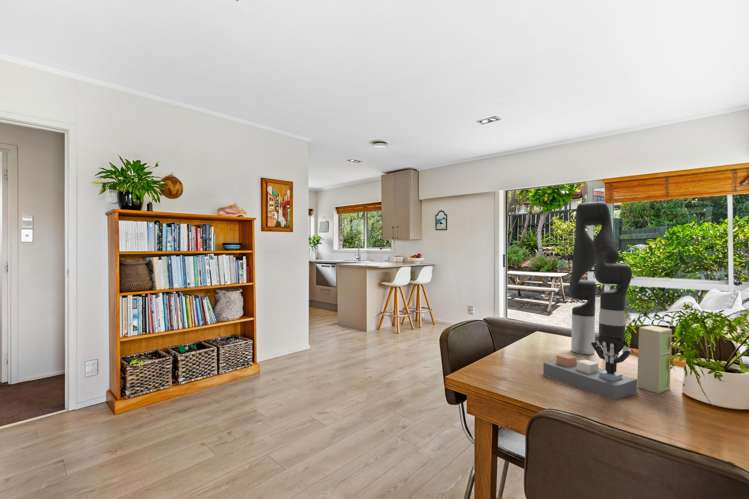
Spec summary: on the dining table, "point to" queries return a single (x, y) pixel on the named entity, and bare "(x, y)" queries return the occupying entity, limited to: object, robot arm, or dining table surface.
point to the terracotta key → (566, 360)
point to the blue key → (610, 376)
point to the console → (591, 380)
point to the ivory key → (587, 366)
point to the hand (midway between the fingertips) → (610, 373)
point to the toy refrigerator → (654, 358)
